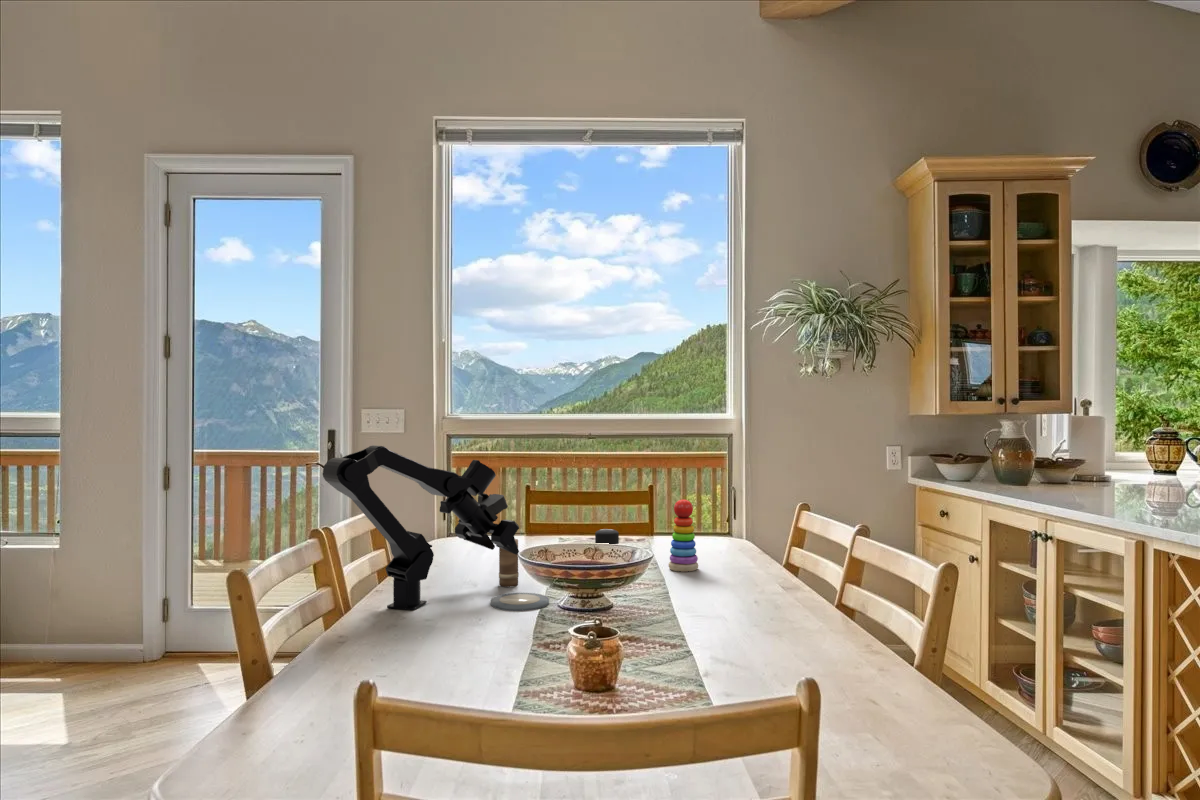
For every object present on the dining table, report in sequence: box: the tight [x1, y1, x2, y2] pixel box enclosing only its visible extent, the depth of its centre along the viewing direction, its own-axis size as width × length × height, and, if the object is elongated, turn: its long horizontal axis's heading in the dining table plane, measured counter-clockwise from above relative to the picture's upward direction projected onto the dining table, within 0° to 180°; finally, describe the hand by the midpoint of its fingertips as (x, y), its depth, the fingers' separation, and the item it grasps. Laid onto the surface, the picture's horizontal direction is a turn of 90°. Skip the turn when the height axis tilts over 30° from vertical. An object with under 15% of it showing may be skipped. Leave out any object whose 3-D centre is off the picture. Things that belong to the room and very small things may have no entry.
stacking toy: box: [668, 499, 699, 573], centre depth 217 cm, size 8×8×19 cm
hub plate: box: [489, 592, 550, 612], centre depth 181 cm, size 13×13×1 cm
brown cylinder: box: [498, 538, 520, 588], centre depth 199 cm, size 5×5×11 cm
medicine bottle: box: [594, 528, 620, 545], centre depth 207 cm, size 7×7×12 cm
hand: (505, 550), depth 198 cm, fingers open, 9 cm apart
